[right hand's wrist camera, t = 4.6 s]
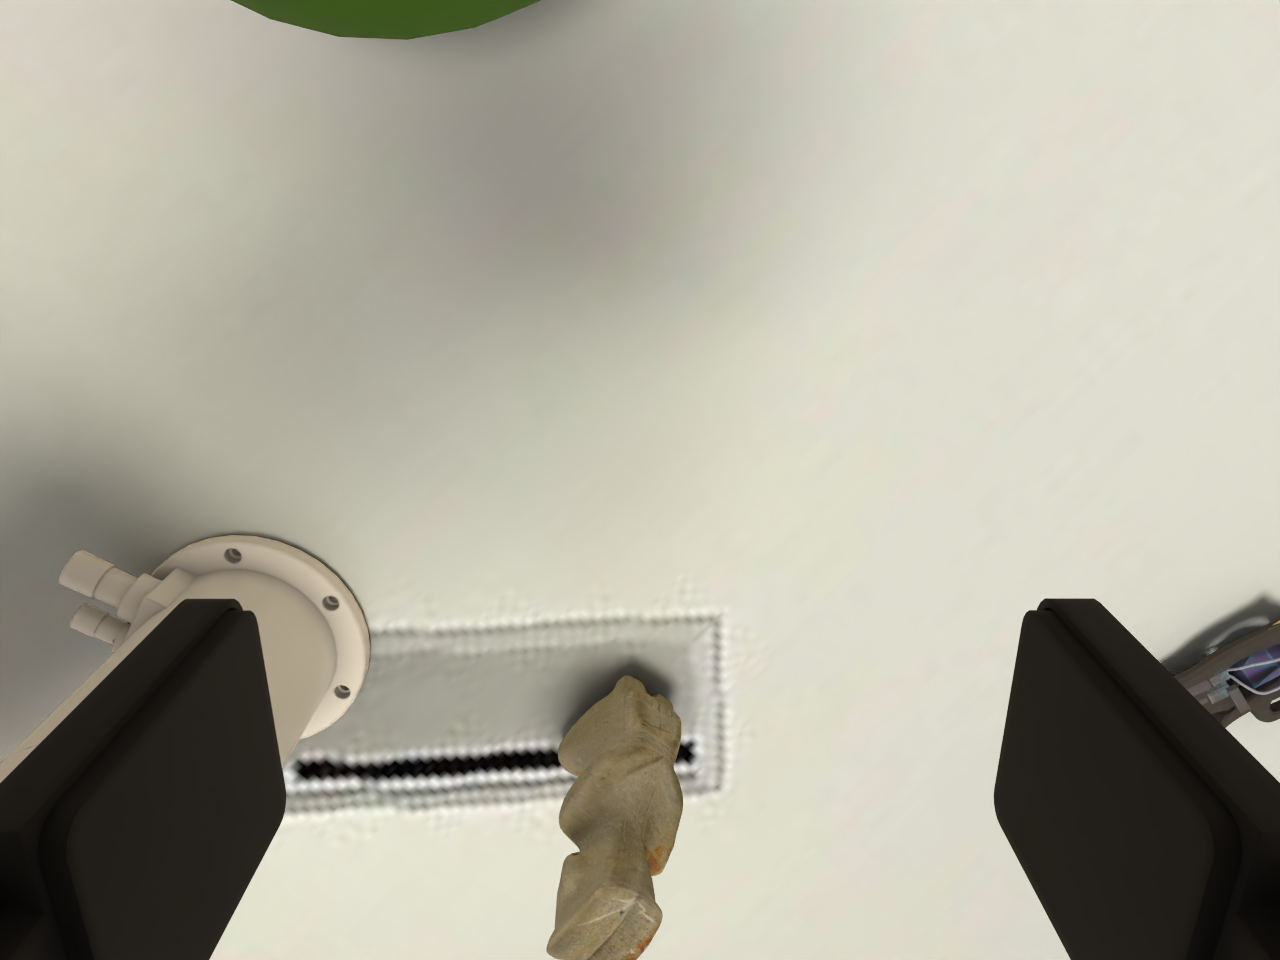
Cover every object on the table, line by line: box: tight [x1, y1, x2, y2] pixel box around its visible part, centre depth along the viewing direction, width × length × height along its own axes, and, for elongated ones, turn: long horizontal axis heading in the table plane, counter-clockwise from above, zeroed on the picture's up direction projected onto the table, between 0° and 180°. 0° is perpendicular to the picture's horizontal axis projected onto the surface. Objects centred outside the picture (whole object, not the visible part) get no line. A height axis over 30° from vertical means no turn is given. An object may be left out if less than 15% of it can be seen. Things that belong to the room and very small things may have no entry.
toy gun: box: [1174, 620, 1280, 728], centre depth 50 cm, size 3×19×10 cm
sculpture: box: [547, 675, 683, 960], centre depth 45 cm, size 6×7×15 cm
